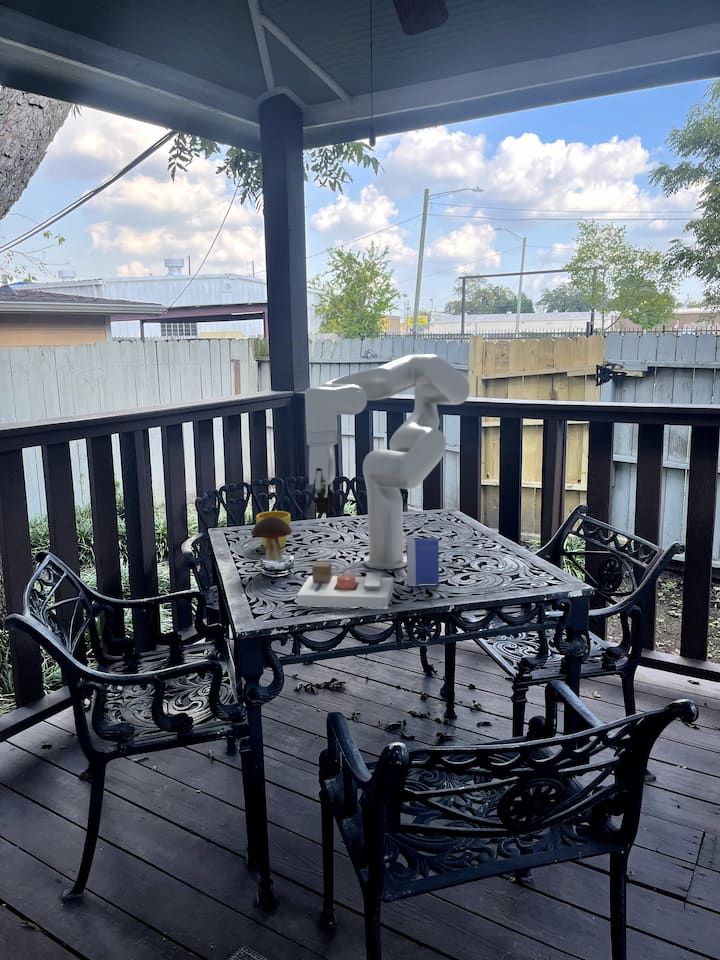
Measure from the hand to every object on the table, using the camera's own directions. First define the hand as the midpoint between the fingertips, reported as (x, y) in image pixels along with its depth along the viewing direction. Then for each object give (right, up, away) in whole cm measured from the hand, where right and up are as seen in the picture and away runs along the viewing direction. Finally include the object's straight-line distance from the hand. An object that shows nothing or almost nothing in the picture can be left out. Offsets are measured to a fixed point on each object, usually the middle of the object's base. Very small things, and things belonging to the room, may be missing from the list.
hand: (325, 509), depth 163 cm
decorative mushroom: (-15, -17, +15) cm, 27 cm away
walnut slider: (0, -17, -3) cm, 18 cm away
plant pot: (-17, -13, +37) cm, 43 cm away
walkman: (+24, -19, +1) cm, 31 cm away
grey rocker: (+12, -17, -8) cm, 22 cm away
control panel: (+6, -21, -6) cm, 23 cm away
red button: (+5, -18, -7) cm, 20 cm away
